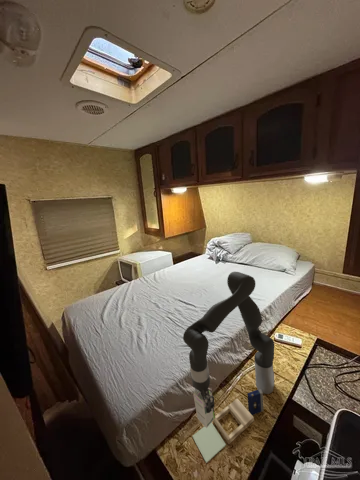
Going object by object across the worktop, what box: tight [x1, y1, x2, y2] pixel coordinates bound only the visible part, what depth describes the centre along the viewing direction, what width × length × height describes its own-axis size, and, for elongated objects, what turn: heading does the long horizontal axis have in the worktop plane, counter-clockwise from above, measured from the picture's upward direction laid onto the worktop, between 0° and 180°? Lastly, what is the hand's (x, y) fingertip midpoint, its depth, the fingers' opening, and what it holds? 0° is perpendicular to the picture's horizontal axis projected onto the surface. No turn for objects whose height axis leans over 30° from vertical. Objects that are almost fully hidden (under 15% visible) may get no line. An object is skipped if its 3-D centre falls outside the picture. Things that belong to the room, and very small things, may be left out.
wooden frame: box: [212, 398, 255, 445], centre depth 95 cm, size 16×11×2 cm, turn 119°
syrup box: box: [193, 390, 216, 428], centre depth 84 cm, size 6×6×14 cm
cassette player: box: [247, 389, 265, 416], centre depth 97 cm, size 7×2×12 cm, turn 103°
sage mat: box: [192, 421, 227, 464], centre depth 89 cm, size 11×11×1 cm
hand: (204, 404), depth 84 cm, fingers closed on syrup box, 6 cm apart
